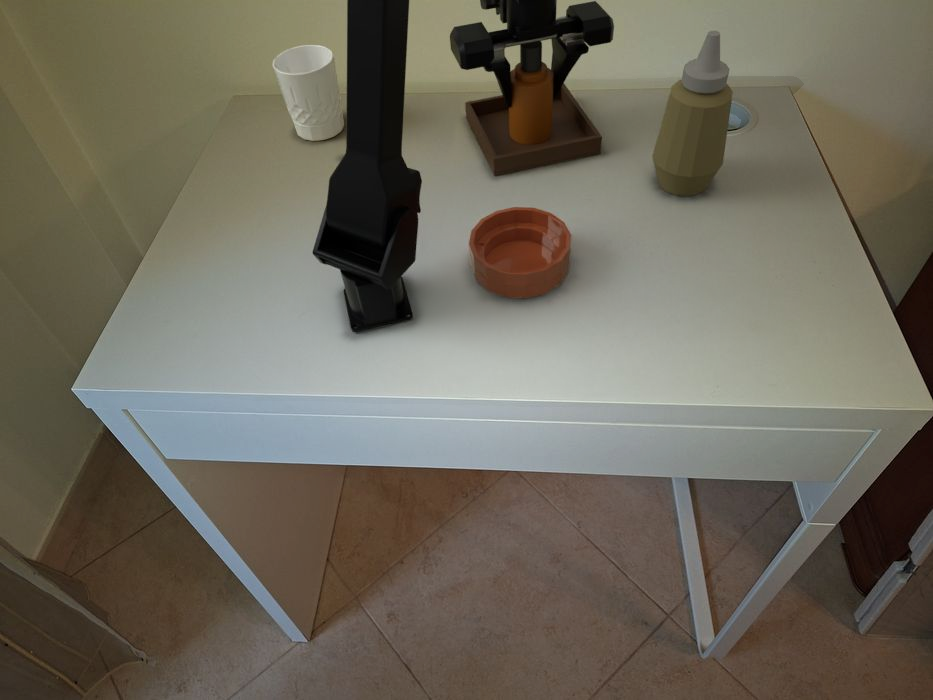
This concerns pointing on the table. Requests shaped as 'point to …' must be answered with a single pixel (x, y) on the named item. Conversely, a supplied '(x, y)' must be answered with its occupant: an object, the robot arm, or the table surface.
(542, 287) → the bowl
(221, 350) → the table surface
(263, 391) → the table surface
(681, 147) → the squeeze bottle
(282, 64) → the white cup
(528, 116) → the bottle
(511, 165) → the tray
